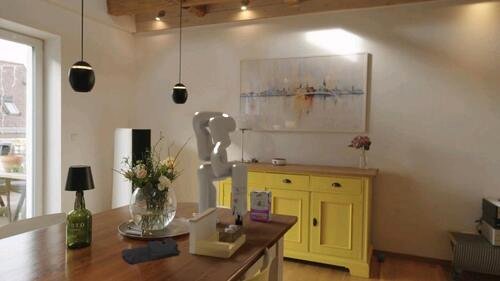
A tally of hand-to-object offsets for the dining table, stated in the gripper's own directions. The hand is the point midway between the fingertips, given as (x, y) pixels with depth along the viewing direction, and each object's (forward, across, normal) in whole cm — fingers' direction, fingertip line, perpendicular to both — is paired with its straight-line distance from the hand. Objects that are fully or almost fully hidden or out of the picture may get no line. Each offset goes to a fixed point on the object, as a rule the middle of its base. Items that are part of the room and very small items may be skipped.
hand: (238, 229), depth 168 cm
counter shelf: (+4, -15, +5) cm, 16 cm away
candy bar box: (+4, +33, -2) cm, 33 cm away
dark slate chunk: (+5, -31, +27) cm, 42 cm away
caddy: (+1, -10, 0) cm, 10 cm away
